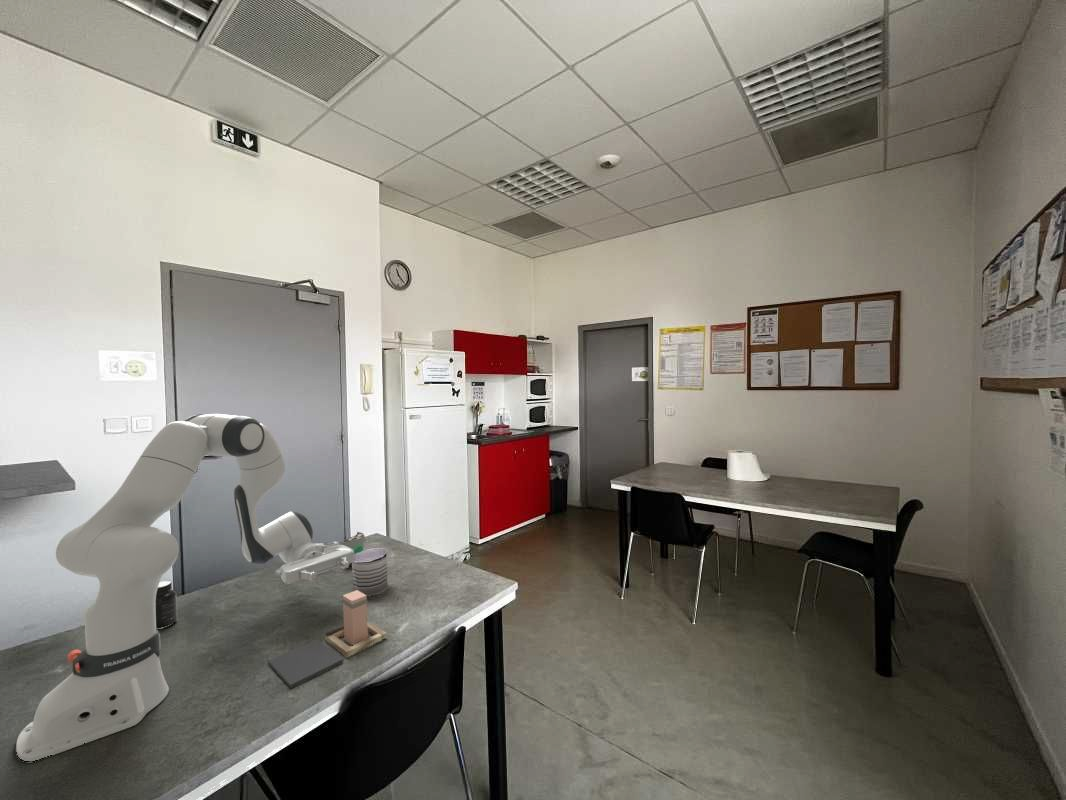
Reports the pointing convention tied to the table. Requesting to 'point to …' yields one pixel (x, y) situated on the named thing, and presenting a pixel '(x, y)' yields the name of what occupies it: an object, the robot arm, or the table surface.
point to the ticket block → (355, 617)
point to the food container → (355, 543)
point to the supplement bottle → (165, 604)
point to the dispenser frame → (348, 651)
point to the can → (370, 571)
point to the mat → (304, 662)
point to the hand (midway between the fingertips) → (330, 571)
